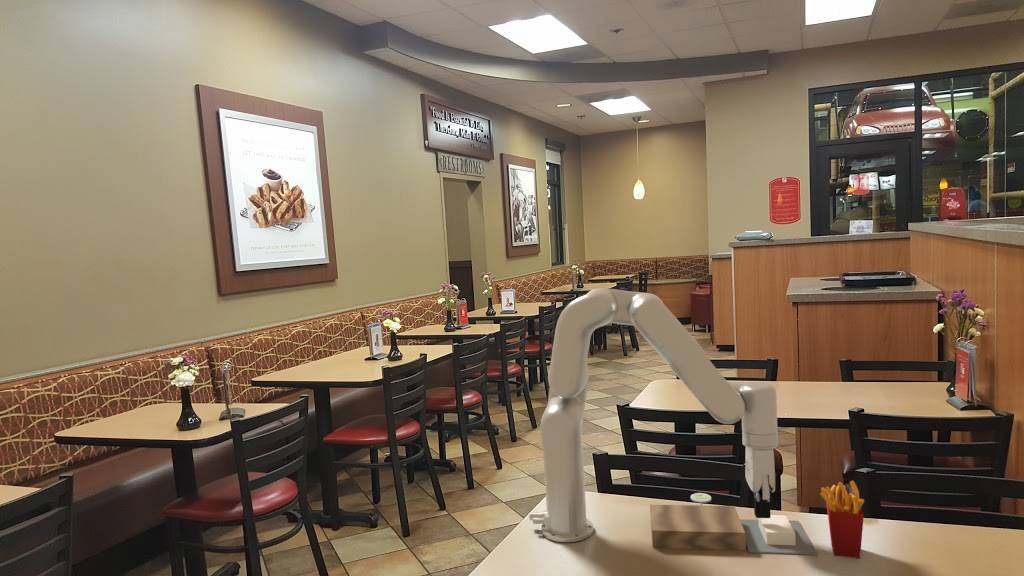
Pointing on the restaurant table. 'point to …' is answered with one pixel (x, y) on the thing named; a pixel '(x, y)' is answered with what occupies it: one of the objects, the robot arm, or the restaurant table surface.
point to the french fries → (844, 520)
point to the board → (696, 527)
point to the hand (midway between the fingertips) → (762, 516)
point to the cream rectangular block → (777, 530)
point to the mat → (758, 545)
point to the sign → (701, 498)
